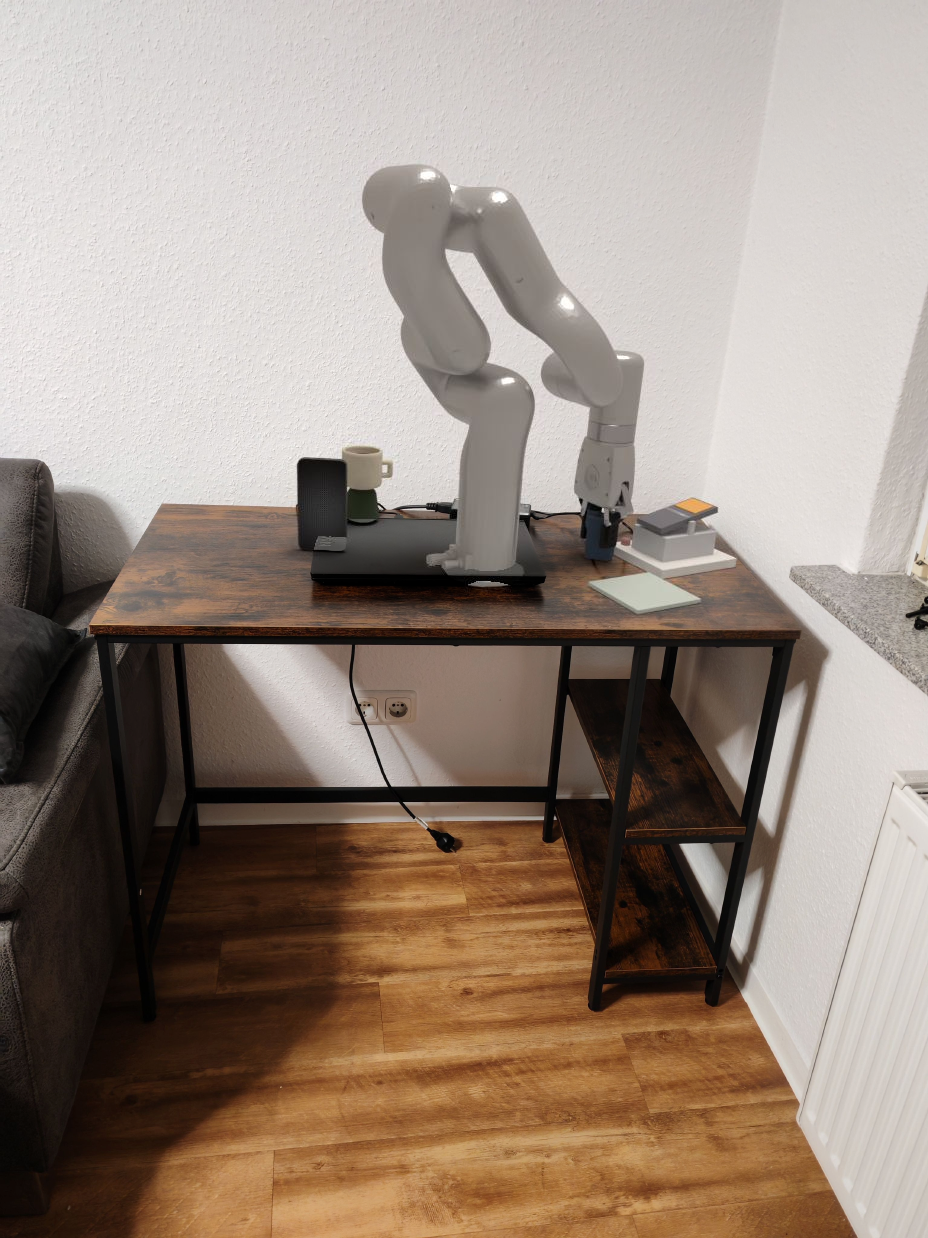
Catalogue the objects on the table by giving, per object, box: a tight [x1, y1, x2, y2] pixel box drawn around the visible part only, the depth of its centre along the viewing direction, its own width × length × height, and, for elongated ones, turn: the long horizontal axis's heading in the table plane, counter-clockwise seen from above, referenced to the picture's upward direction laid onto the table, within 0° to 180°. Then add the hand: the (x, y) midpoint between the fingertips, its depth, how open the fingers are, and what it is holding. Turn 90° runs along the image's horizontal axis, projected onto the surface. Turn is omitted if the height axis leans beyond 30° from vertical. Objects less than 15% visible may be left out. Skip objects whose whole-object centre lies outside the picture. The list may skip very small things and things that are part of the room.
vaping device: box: [583, 502, 615, 562], centre depth 148 cm, size 3×5×12 cm, turn 75°
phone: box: [296, 456, 348, 551], centre depth 143 cm, size 8×1×15 cm, turn 92°
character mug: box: [341, 444, 394, 520], centre depth 159 cm, size 11×7×13 cm, turn 105°
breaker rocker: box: [636, 497, 719, 534], centre depth 149 cm, size 12×6×1 cm, turn 119°
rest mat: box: [587, 572, 702, 615], centre depth 136 cm, size 12×12×1 cm
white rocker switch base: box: [614, 521, 738, 580], centre depth 151 cm, size 16×14×8 cm
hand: (597, 541), depth 149 cm, fingers closed on vaping device, 4 cm apart
